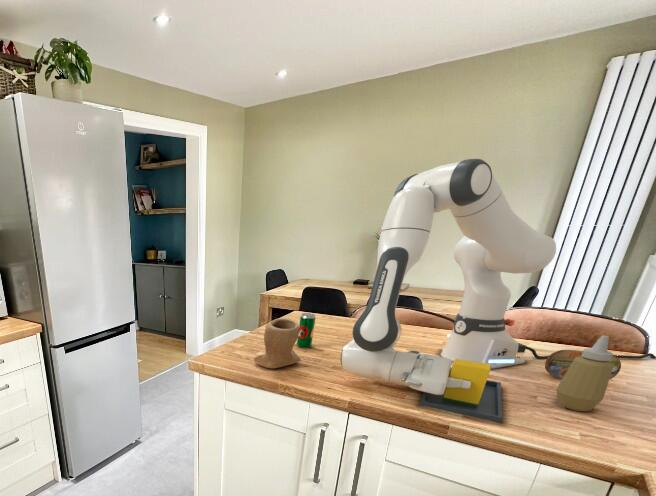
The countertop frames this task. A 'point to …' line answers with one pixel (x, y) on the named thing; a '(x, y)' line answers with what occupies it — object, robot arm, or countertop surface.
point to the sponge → (470, 372)
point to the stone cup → (279, 344)
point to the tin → (564, 358)
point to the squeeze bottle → (586, 378)
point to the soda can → (306, 330)
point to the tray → (486, 408)
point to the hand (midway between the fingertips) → (471, 380)
